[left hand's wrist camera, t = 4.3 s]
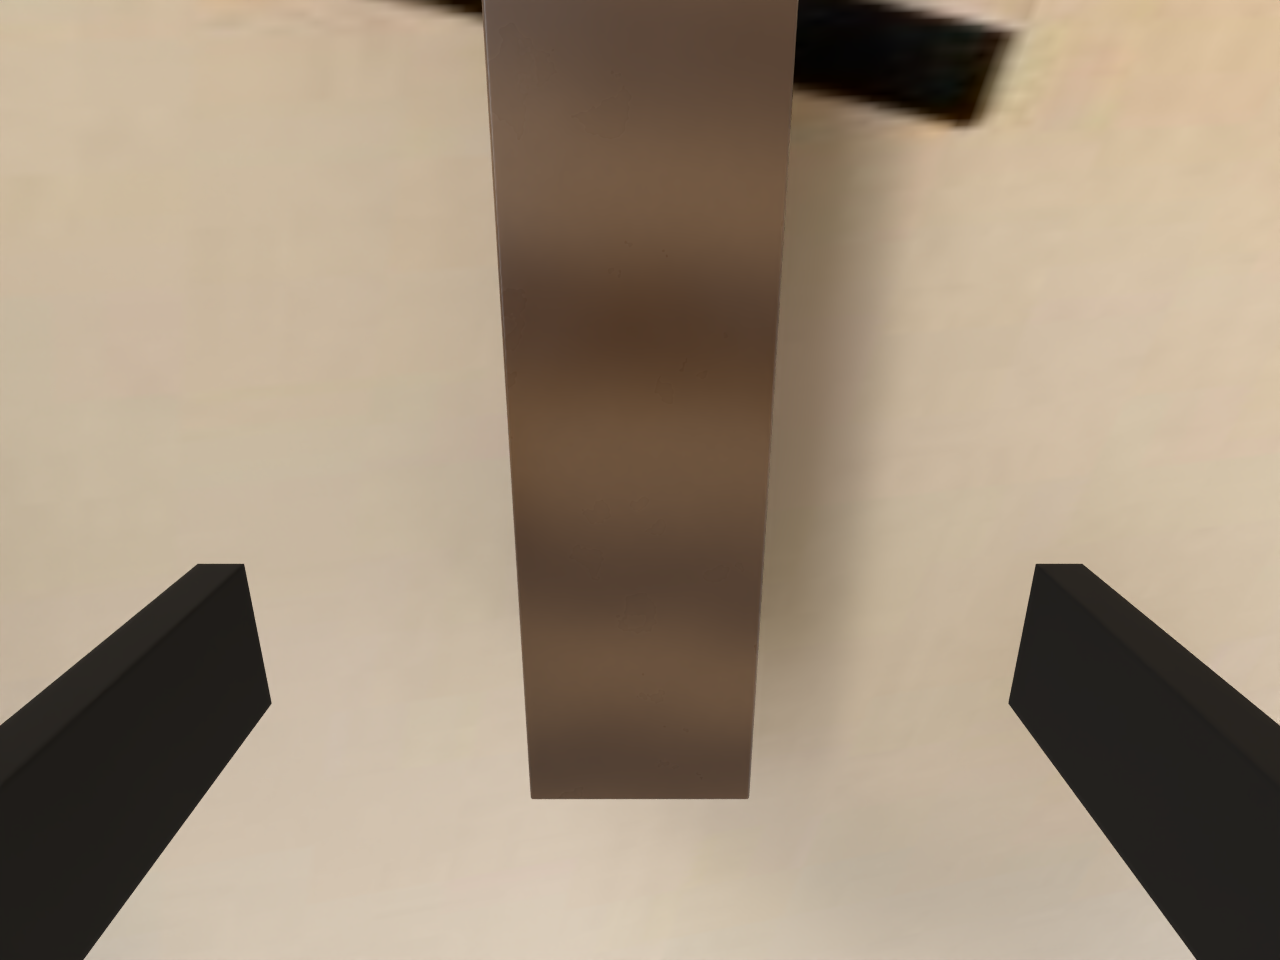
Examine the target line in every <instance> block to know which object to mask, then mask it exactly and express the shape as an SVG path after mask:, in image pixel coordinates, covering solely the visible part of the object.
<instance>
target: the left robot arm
mask: <svg viewBox="0 0 1280 960" xmlns="http://www.w3.org/2000/svg"><path fill="white" fill-rule="evenodd" d="M271 704H272V703H271V698H270V693H269V688H268V683H267V678H266V673H265V668H264V663H263V657H262V652H261V647H260V642H259V637H258V632H257V627H256V622H255V617H254V612H253V607H252V602H251V597H250V592H249V587H248V582H247V576H246V571H245V566H244V564H197V565H196V566H195V567H193V568H192V569H191V570H190V571H189V572H187V573H186V574H185V575H184V576H182V577H181V578H180V579H179V580H178V581H176V582H175V583H174V584H173V585H171V586H170V587H169V588H168V589H167V590H165V591H164V592H163V593H162V594H160V595H159V596H158V597H157V598H156V599H154V600H153V601H152V602H151V603H149V604H148V605H147V606H146V607H145V608H143V609H142V610H141V611H140V612H138V613H137V614H136V615H135V616H134V617H132V618H131V619H130V620H129V621H127V622H126V623H125V624H124V625H123V626H121V627H120V628H119V629H118V630H116V631H115V632H114V633H113V634H112V635H110V636H109V637H108V638H107V639H105V640H104V641H103V642H102V643H101V644H99V645H98V646H97V647H96V648H94V649H93V650H92V651H91V652H90V653H88V654H87V655H86V656H85V657H84V658H82V659H81V660H80V661H79V662H77V663H76V664H75V665H74V666H73V667H71V668H70V669H69V670H68V671H66V672H65V673H64V674H63V675H62V676H60V677H59V678H58V679H57V680H55V681H54V682H53V683H52V684H51V685H49V686H48V687H47V688H46V689H44V690H43V691H42V692H41V693H40V694H38V695H37V696H36V697H35V698H33V699H32V700H31V701H30V702H29V703H27V704H26V705H25V706H24V707H22V708H21V709H20V710H19V711H18V712H16V713H15V714H14V715H13V716H11V717H10V718H9V719H8V720H7V721H5V722H4V723H3V724H2V725H0V960H84V958H85V957H86V955H87V954H88V953H89V951H90V950H91V949H92V947H93V946H94V945H95V943H96V942H97V940H98V939H99V938H100V936H101V935H102V934H103V932H104V931H105V930H106V928H107V927H108V926H109V924H110V923H111V921H112V920H113V919H114V917H115V916H116V915H117V913H118V912H119V911H120V909H121V908H122V906H123V905H124V904H125V902H126V901H127V900H128V898H129V897H130V896H131V894H132V893H133V891H134V890H135V889H136V887H137V886H138V885H139V883H140V882H141V881H142V879H143V878H144V876H145V875H146V874H147V872H148V871H149V870H150V868H151V867H152V866H153V864H154V863H155V862H156V860H157V859H158V857H159V856H160V855H161V853H162V852H163V851H164V849H165V848H166V847H167V845H168V844H169V842H170V841H171V840H172V838H173V837H174V836H175V834H176V833H177V832H178V830H179V829H180V827H181V826H182V825H183V823H184V822H185V821H186V819H187V818H188V817H189V815H190V814H191V813H192V811H193V810H194V808H195V807H196V806H197V804H198V803H199V802H200V800H201V799H202V798H203V796H204V795H205V793H206V792H207V791H208V789H209V788H210V787H211V785H212V784H213V783H214V781H215V780H216V778H217V777H218V776H219V774H220V773H221V772H222V770H223V769H224V768H225V766H226V765H227V763H228V762H229V761H230V759H231V758H232V757H233V755H234V754H235V753H236V751H237V750H238V749H239V747H240V746H241V744H242V743H243V742H244V740H245V739H246V738H247V736H248V735H249V734H250V732H251V731H252V729H253V728H254V727H255V725H256V724H257V723H258V721H259V720H260V719H261V717H262V716H263V714H264V713H265V712H266V710H267V709H268V708H269V706H270V705H271ZM1008 704H1009V705H1010V706H1011V708H1012V709H1013V710H1014V712H1015V713H1016V714H1017V716H1018V717H1019V719H1020V720H1021V721H1022V723H1023V724H1024V725H1025V727H1026V728H1027V729H1028V731H1029V732H1030V734H1031V735H1032V736H1033V738H1034V739H1035V740H1036V742H1037V743H1038V744H1039V746H1040V747H1041V749H1042V750H1043V751H1044V753H1045V754H1046V755H1047V757H1048V758H1049V759H1050V761H1051V762H1052V763H1053V765H1054V766H1055V768H1056V769H1057V770H1058V772H1059V773H1060V774H1061V776H1062V777H1063V778H1064V780H1065V781H1066V783H1067V784H1068V785H1069V787H1070V788H1071V789H1072V791H1073V792H1074V793H1075V795H1076V796H1077V798H1078V799H1079V800H1080V802H1081V803H1082V804H1083V806H1084V807H1085V808H1086V810H1087V811H1088V813H1089V814H1090V815H1091V817H1092V818H1093V819H1094V821H1095V822H1096V823H1097V825H1098V826H1099V827H1100V829H1101V830H1102V832H1103V833H1104V834H1105V836H1106V837H1107V838H1108V840H1109V841H1110V842H1111V844H1112V845H1113V847H1114V848H1115V849H1116V851H1117V852H1118V853H1119V855H1120V856H1121V857H1122V859H1123V860H1124V862H1125V863H1126V864H1127V866H1128V867H1129V868H1130V870H1131V871H1132V872H1133V874H1134V875H1135V876H1136V878H1137V879H1138V881H1139V882H1140V883H1141V885H1142V886H1143V887H1144V889H1145V890H1146V891H1147V893H1148V894H1149V896H1150V897H1151V898H1152V900H1153V901H1154V902H1155V904H1156V905H1157V906H1158V908H1159V909H1160V911H1161V912H1162V913H1163V915H1164V916H1165V917H1166V919H1167V920H1168V921H1169V923H1170V924H1171V926H1172V927H1173V928H1174V930H1175V931H1176V932H1177V934H1178V935H1179V936H1180V938H1181V939H1182V940H1183V942H1184V943H1185V945H1186V946H1187V947H1188V949H1189V950H1190V951H1191V953H1192V954H1193V955H1194V957H1195V958H1196V960H1280V725H1278V724H1277V723H1276V722H1275V721H1273V720H1272V719H1271V718H1270V717H1269V716H1267V715H1266V714H1265V713H1264V712H1262V711H1261V710H1260V709H1259V708H1258V707H1256V706H1255V705H1254V704H1253V703H1251V702H1250V701H1249V700H1248V699H1247V698H1245V697H1244V696H1243V695H1242V694H1240V693H1239V692H1238V691H1237V690H1236V689H1234V688H1233V687H1232V686H1231V685H1229V684H1228V683H1227V682H1226V681H1225V680H1223V679H1222V678H1221V677H1220V676H1218V675H1217V674H1216V673H1215V672H1214V671H1212V670H1211V669H1210V668H1209V667H1207V666H1206V665H1205V664H1204V663H1203V662H1201V661H1200V660H1199V659H1198V658H1196V657H1195V656H1194V655H1193V654H1192V653H1190V652H1189V651H1188V650H1187V649H1186V648H1184V647H1183V646H1182V645H1181V644H1179V643H1178V642H1177V641H1176V640H1175V639H1173V638H1172V637H1171V636H1170V635H1168V634H1167V633H1166V632H1165V631H1164V630H1162V629H1161V628H1160V627H1159V626H1157V625H1156V624H1155V623H1154V622H1153V621H1151V620H1150V619H1149V618H1148V617H1146V616H1145V615H1144V614H1143V613H1142V612H1140V611H1139V610H1138V609H1137V608H1135V607H1134V606H1133V605H1132V604H1131V603H1129V602H1128V601H1127V600H1126V599H1124V598H1123V597H1122V596H1121V595H1120V594H1118V593H1117V592H1116V591H1115V590H1113V589H1112V588H1111V587H1110V586H1109V585H1107V584H1106V583H1105V582H1104V581H1102V580H1101V579H1100V578H1099V577H1098V576H1096V575H1095V574H1094V573H1093V572H1091V571H1090V570H1089V569H1088V568H1087V567H1085V566H1084V565H1083V564H1036V566H1035V571H1034V576H1033V582H1032V587H1031V592H1030V597H1029V602H1028V607H1027V612H1026V617H1025V622H1024V627H1023V632H1022V637H1021V642H1020V647H1019V652H1018V657H1017V663H1016V668H1015V673H1014V678H1013V683H1012V688H1011V693H1010V698H1009V703H1008Z"/></svg>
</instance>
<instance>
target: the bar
mask: <svg viewBox="0 0 1280 960" xmlns="http://www.w3.org/2000/svg"><path fill="white" fill-rule="evenodd" d="M482 11H483V28H484V44H485V60H486V76H487V93H488V109H489V125H490V142H491V158H492V174H493V190H494V207H495V223H496V239H497V255H498V272H499V288H500V304H501V320H502V337H503V353H504V369H505V386H506V402H507V418H508V434H509V451H510V467H511V483H512V499H513V516H514V532H515V548H516V564H517V581H518V597H519V613H520V630H521V646H522V662H523V678H524V695H525V711H526V727H527V743H528V760H529V776H530V792H531V798H532V799H748V798H749V791H750V775H751V759H752V742H753V726H754V710H755V694H756V678H757V661H758V645H759V629H760V613H761V597H762V580H763V564H764V548H765V532H766V516H767V499H768V483H769V467H770V451H771V435H772V418H773V402H774V386H775V370H776V354H777V337H778V321H779V305H780V289H781V273H782V256H783V240H784V224H785V208H786V192H787V175H788V159H789V143H790V127H791V111H792V94H793V78H794V62H795V46H796V30H797V13H798V0H482Z"/></svg>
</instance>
